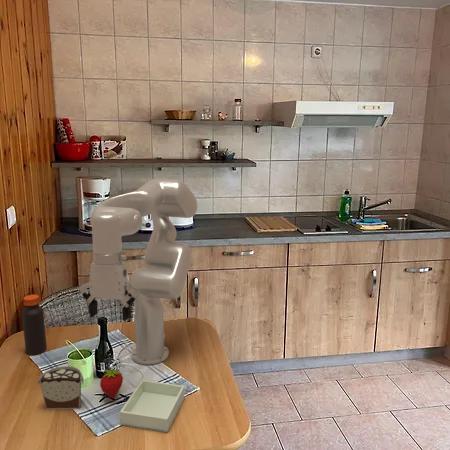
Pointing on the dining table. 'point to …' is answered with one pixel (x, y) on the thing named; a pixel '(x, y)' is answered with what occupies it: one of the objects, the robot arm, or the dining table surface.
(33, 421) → the dining table surface
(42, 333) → the bottle
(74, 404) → the food container
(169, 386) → the serving tray
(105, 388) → the strawberry
